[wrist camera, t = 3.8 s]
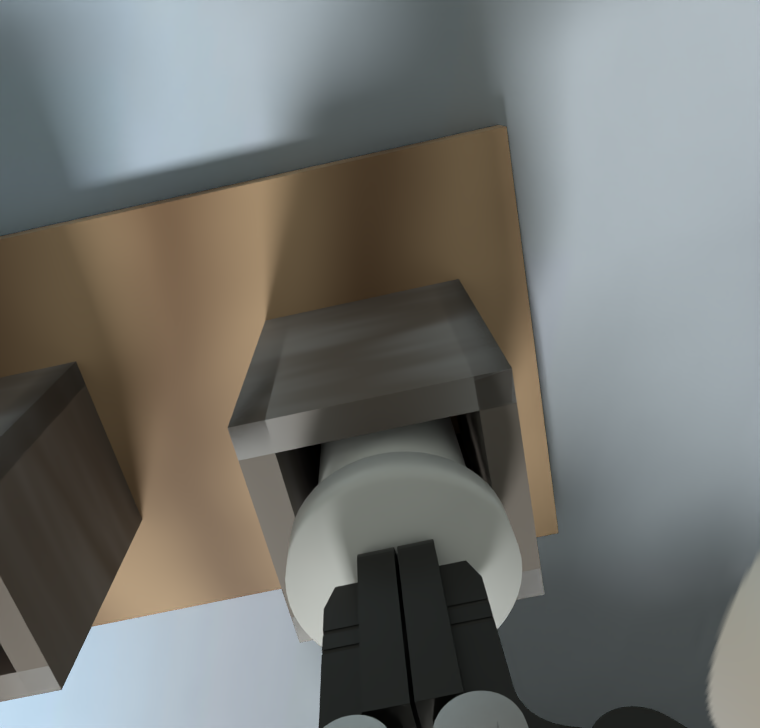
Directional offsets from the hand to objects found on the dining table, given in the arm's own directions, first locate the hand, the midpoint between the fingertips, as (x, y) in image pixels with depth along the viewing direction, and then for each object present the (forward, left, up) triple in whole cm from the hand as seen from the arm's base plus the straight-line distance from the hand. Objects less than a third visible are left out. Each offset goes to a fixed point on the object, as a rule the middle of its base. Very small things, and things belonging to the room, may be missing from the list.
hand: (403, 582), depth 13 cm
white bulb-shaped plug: (0, 0, -8) cm, 8 cm away
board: (+6, 0, -10) cm, 12 cm away
